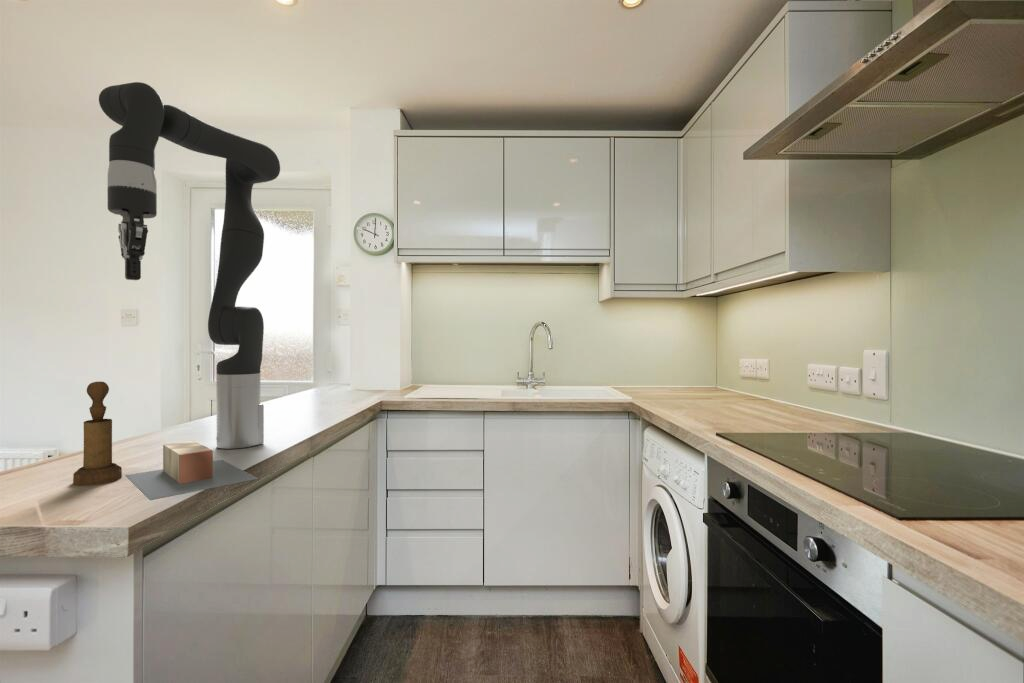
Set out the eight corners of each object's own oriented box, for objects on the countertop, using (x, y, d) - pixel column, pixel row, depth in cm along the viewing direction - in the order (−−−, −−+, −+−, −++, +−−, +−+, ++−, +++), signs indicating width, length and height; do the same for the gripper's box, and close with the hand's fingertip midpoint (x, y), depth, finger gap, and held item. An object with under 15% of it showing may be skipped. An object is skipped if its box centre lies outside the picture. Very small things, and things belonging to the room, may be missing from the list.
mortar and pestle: (93, 489, 83) (93, 383, 83) (63, 487, 85) (62, 382, 85) (131, 478, 90) (130, 380, 90) (102, 476, 91) (101, 379, 91)
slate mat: (222, 462, 102) (222, 459, 102) (258, 481, 88) (258, 478, 88) (125, 477, 90) (125, 475, 90) (150, 503, 77) (150, 499, 77)
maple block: (212, 477, 89) (193, 465, 97) (212, 450, 89) (193, 440, 97) (180, 483, 85) (163, 470, 93) (180, 454, 85) (163, 444, 93)
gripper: (164, 187, 93) (164, 278, 93) (148, 200, 102) (148, 283, 102) (113, 177, 88) (114, 274, 88) (102, 192, 97) (102, 280, 97)
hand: (132, 279), depth 95 cm, fingers closed
